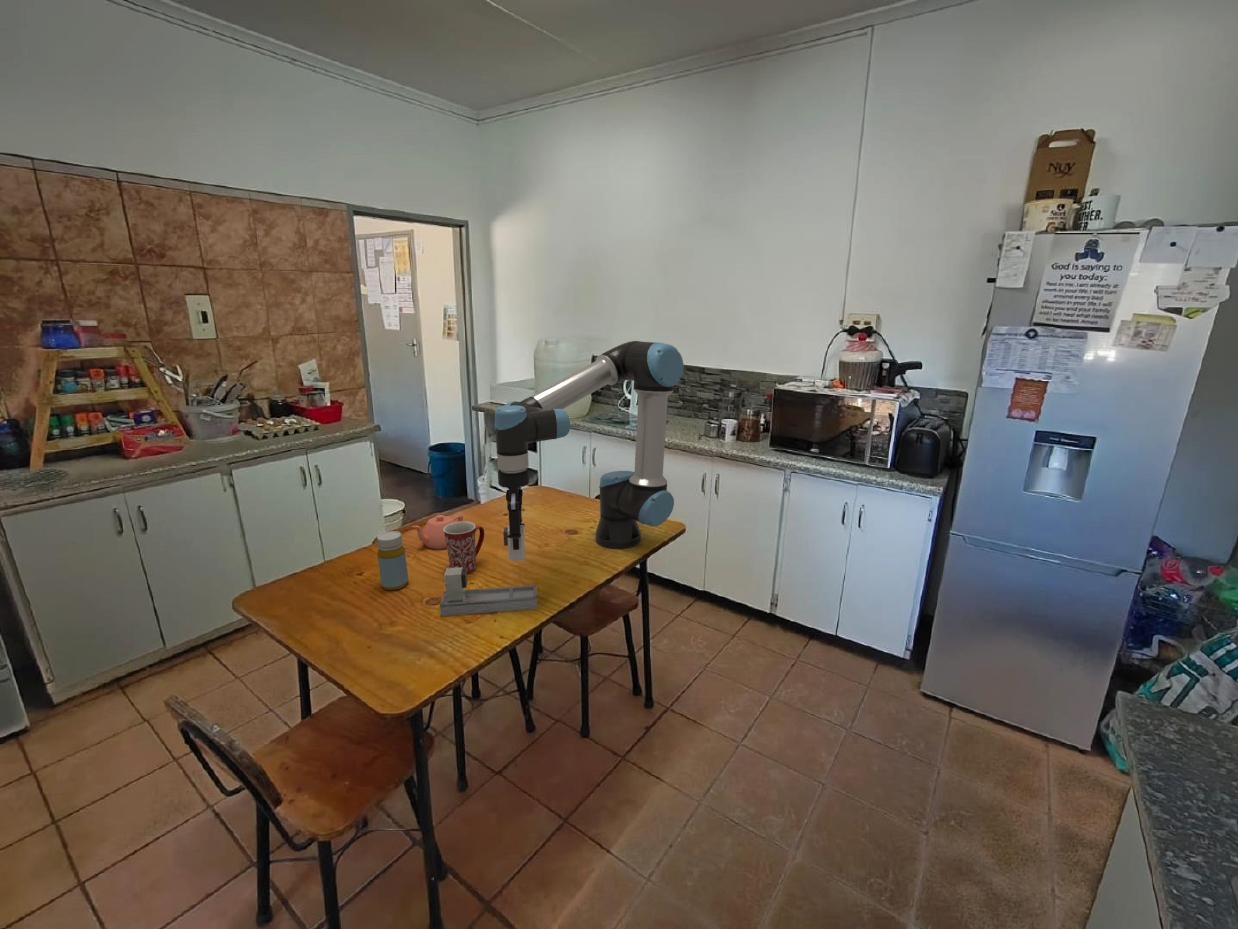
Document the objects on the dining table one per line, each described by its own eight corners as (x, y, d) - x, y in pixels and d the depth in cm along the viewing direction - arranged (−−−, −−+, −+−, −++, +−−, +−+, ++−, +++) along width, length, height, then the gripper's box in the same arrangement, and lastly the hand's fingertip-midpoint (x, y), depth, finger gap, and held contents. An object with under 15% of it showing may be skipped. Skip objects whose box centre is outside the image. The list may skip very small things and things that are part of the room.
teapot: (474, 540, 185) (472, 513, 182) (424, 558, 172) (421, 529, 169) (453, 530, 192) (451, 504, 190) (405, 547, 179) (401, 519, 177)
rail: (536, 595, 150) (535, 559, 147) (537, 608, 143) (535, 571, 140) (444, 602, 146) (441, 566, 143) (440, 616, 140) (436, 578, 137)
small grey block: (525, 553, 146) (524, 524, 144) (524, 560, 142) (523, 531, 140) (505, 554, 145) (504, 525, 143) (504, 560, 141) (503, 531, 139)
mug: (459, 579, 158) (455, 536, 154) (441, 570, 164) (436, 527, 160) (495, 564, 167) (492, 522, 164) (476, 555, 173) (473, 515, 169)
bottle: (414, 581, 157) (408, 532, 153) (397, 593, 151) (390, 542, 147) (394, 577, 159) (387, 529, 155) (376, 589, 153) (369, 538, 149)
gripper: (500, 460, 145) (505, 542, 151) (494, 480, 128) (500, 571, 135) (529, 459, 146) (532, 541, 152) (527, 479, 129) (531, 570, 136)
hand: (517, 555), depth 144 cm, fingers closed on small grey block, 4 cm apart
